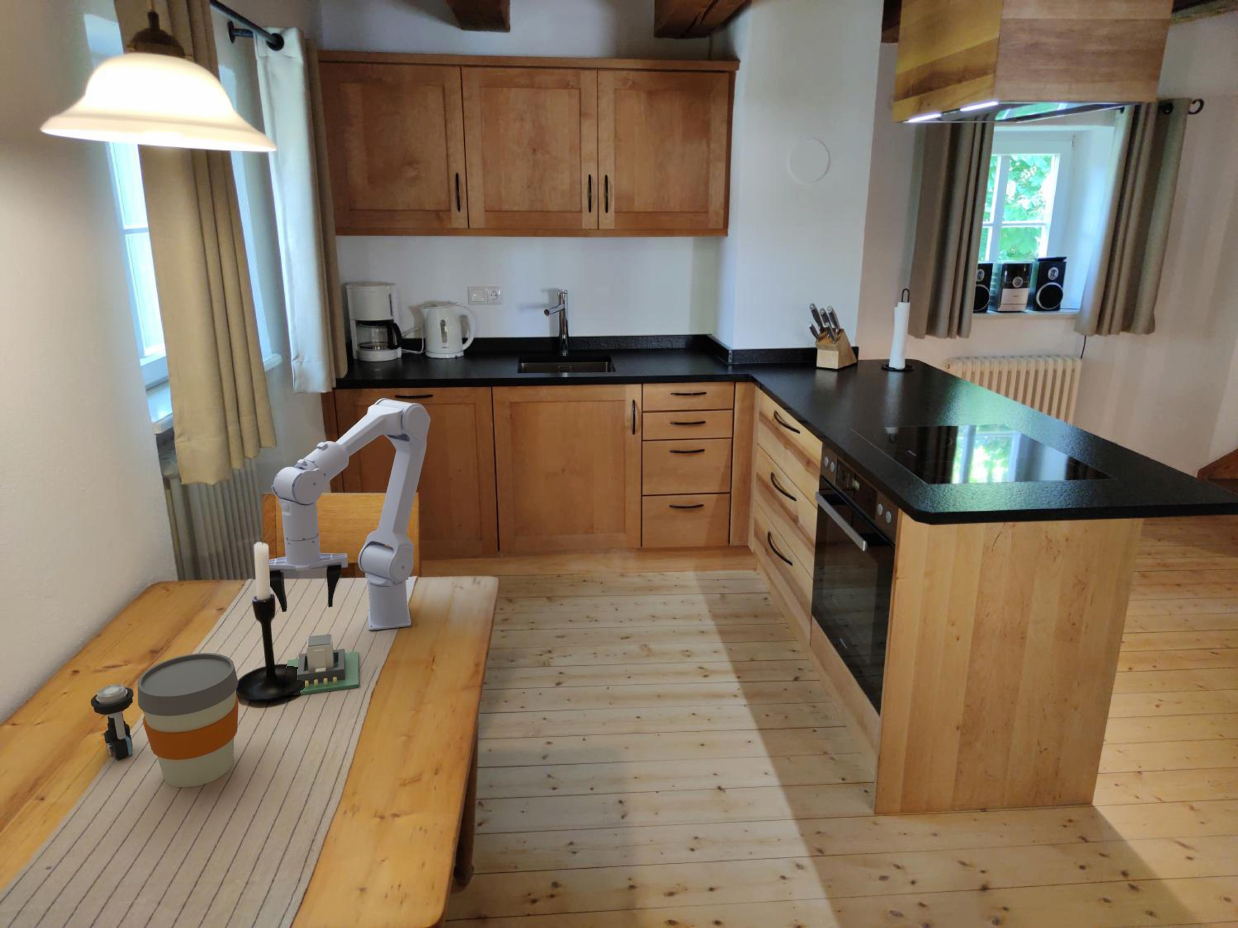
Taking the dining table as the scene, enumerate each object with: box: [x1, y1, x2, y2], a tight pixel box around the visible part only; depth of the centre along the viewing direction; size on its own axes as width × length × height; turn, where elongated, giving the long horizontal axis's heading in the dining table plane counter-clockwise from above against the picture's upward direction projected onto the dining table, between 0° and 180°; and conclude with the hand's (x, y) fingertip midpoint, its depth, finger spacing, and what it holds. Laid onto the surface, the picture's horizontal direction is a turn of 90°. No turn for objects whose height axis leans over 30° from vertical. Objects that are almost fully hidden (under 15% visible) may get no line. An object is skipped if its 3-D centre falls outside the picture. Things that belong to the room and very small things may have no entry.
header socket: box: [286, 648, 360, 696], centre depth 146 cm, size 12×12×3 cm
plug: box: [305, 633, 334, 671], centre depth 145 cm, size 4×4×6 cm
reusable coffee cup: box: [137, 652, 239, 788], centre depth 118 cm, size 13×13×15 cm
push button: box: [90, 683, 135, 761], centre depth 123 cm, size 7×5×10 cm
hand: (307, 607), depth 149 cm, fingers open, 7 cm apart
